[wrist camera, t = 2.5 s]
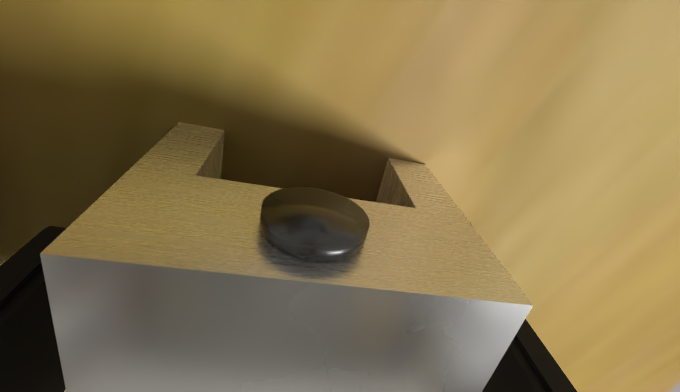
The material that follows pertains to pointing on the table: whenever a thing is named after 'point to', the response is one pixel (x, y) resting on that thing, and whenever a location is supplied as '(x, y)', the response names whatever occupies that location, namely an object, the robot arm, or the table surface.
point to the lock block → (274, 284)
